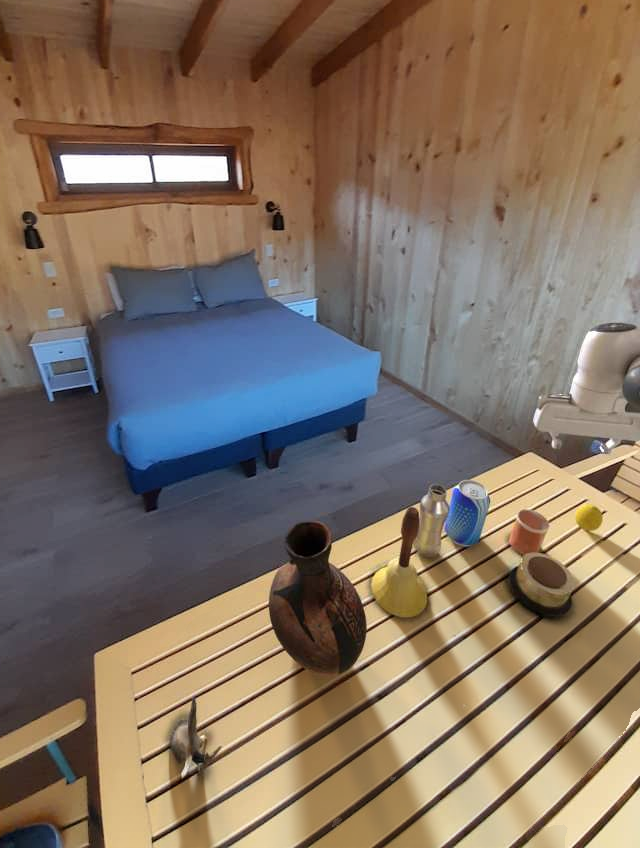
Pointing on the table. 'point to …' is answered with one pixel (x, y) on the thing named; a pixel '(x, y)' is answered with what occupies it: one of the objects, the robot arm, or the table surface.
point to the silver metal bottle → (431, 521)
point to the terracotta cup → (528, 532)
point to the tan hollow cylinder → (542, 586)
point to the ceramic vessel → (316, 604)
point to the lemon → (588, 517)
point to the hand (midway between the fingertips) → (579, 449)
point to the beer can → (467, 513)
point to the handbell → (401, 576)
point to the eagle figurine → (190, 743)
